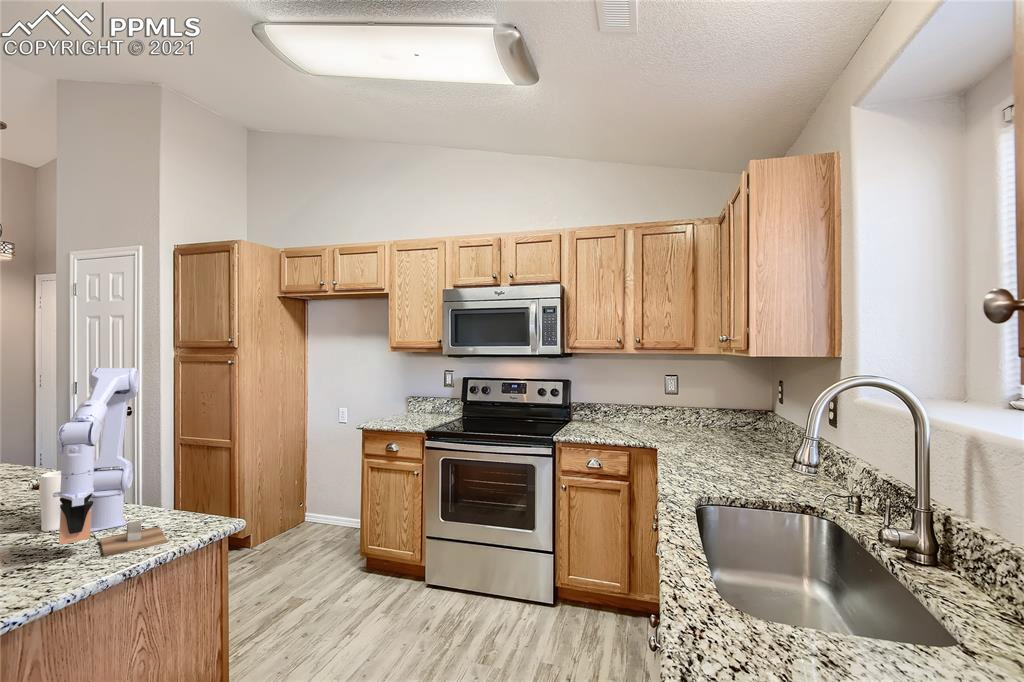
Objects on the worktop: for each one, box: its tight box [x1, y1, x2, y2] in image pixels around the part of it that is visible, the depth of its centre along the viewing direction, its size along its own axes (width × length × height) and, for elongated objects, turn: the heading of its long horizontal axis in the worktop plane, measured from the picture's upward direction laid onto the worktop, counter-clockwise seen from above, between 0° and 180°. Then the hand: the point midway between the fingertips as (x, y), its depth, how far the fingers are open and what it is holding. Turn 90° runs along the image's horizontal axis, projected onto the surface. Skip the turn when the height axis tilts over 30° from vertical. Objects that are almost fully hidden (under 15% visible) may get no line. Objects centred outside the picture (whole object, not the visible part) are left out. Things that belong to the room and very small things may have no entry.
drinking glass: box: [38, 470, 62, 533], centre depth 124 cm, size 7×7×15 cm
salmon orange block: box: [58, 508, 92, 546], centre depth 108 cm, size 5×5×7 cm
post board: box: [99, 520, 168, 558], centre depth 116 cm, size 12×12×5 cm
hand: (75, 529), depth 108 cm, fingers closed on salmon orange block, 5 cm apart
